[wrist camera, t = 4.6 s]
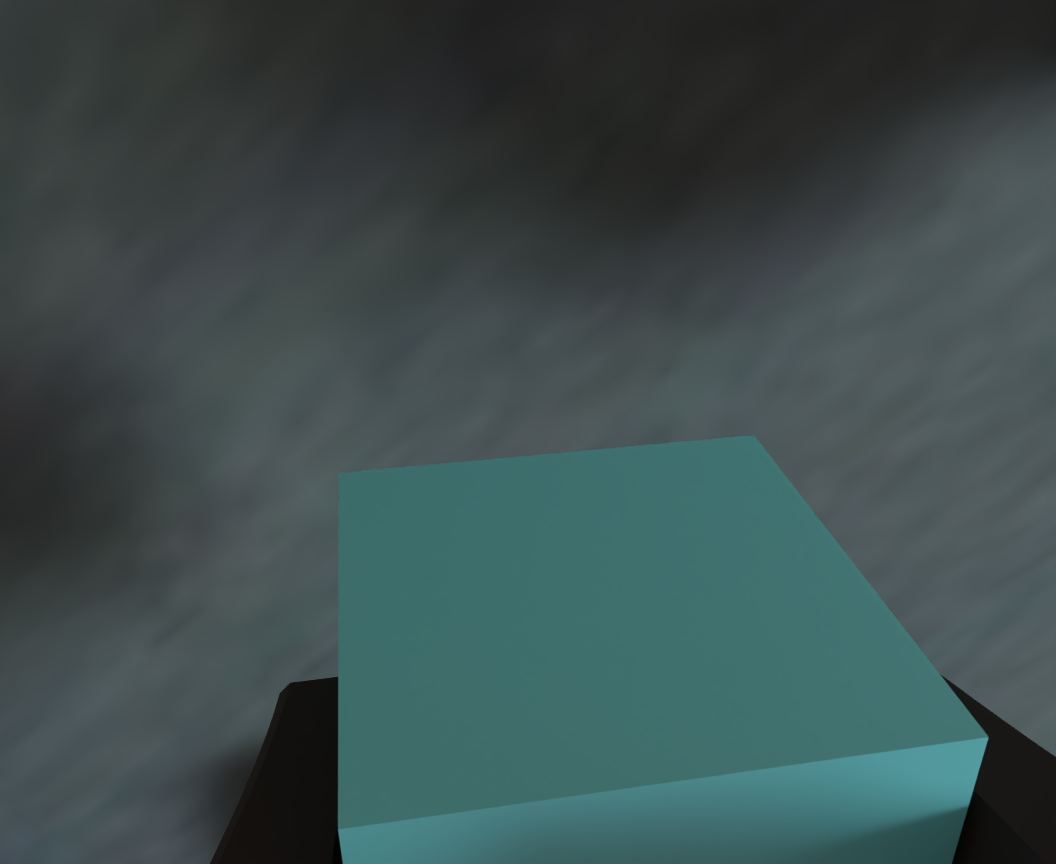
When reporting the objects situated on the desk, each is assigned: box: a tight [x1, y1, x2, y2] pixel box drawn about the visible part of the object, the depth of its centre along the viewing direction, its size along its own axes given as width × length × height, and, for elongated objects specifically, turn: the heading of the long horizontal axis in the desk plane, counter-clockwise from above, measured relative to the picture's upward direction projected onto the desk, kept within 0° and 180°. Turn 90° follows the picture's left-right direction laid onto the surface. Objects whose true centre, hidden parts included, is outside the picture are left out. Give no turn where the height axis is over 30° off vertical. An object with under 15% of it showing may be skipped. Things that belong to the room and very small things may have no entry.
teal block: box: [338, 435, 989, 864], centre depth 10 cm, size 4×4×4 cm
